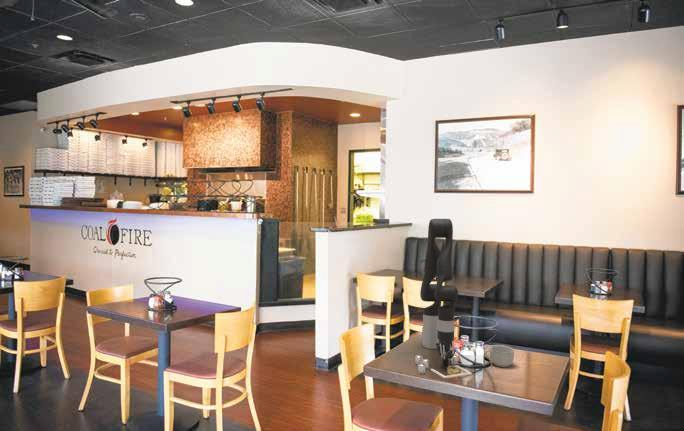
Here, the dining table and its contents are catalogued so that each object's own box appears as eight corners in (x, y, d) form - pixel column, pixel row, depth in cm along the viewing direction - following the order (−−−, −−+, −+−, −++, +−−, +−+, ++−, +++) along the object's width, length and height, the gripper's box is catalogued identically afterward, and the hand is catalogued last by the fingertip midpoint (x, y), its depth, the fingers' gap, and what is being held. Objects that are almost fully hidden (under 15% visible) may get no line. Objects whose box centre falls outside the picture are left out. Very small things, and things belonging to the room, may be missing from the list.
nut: (444, 373, 216) (444, 367, 216) (449, 370, 220) (449, 364, 220) (456, 376, 213) (456, 370, 213) (460, 373, 217) (460, 367, 217)
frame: (430, 370, 220) (430, 368, 220) (457, 366, 225) (457, 365, 225) (444, 378, 209) (444, 377, 209) (471, 374, 215) (472, 373, 215)
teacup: (510, 361, 233) (511, 345, 232) (516, 369, 222) (517, 352, 222) (481, 360, 234) (481, 344, 234) (485, 368, 223) (485, 351, 223)
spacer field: (404, 364, 227) (404, 356, 227) (455, 358, 237) (455, 350, 237) (420, 374, 214) (420, 366, 214) (473, 367, 224) (473, 358, 224)
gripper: (461, 332, 217) (460, 370, 217) (444, 324, 229) (444, 361, 229) (447, 333, 214) (446, 372, 214) (430, 326, 226) (430, 363, 227)
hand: (445, 366), depth 222 cm, fingers closed
